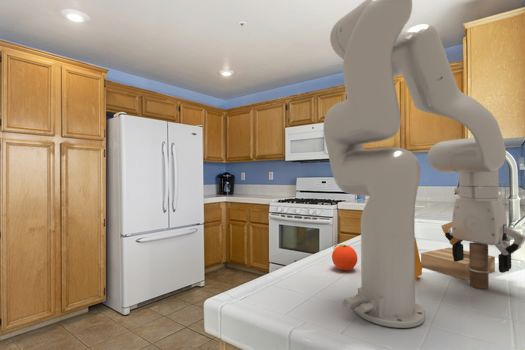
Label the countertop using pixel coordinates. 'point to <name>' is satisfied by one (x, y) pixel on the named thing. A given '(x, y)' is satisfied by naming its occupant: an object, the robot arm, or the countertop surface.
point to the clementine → (344, 257)
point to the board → (451, 263)
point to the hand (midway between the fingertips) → (480, 265)
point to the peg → (478, 265)
